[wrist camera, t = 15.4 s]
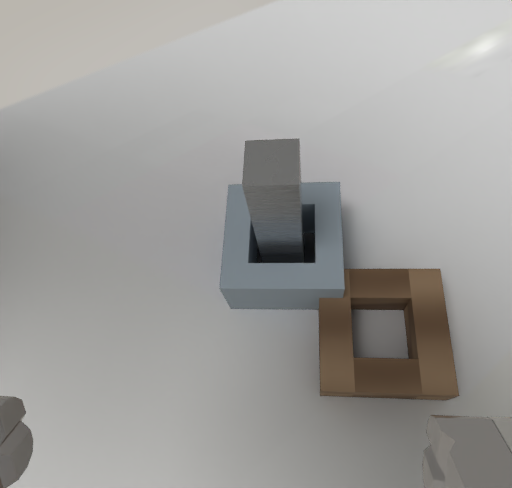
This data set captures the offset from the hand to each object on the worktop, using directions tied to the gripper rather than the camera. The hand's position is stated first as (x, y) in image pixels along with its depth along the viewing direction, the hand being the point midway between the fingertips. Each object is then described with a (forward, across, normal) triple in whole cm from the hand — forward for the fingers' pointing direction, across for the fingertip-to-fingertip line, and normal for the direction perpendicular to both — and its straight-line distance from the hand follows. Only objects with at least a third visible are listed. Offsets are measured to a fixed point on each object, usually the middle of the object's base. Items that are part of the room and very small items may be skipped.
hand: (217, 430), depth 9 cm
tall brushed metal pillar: (+28, 0, +7) cm, 29 cm away
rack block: (+28, 0, +7) cm, 29 cm away
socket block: (+23, -8, +12) cm, 27 cm away
